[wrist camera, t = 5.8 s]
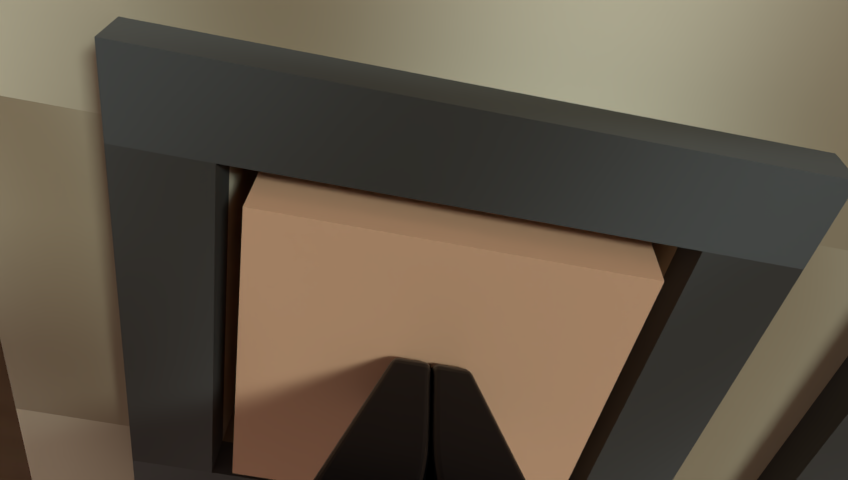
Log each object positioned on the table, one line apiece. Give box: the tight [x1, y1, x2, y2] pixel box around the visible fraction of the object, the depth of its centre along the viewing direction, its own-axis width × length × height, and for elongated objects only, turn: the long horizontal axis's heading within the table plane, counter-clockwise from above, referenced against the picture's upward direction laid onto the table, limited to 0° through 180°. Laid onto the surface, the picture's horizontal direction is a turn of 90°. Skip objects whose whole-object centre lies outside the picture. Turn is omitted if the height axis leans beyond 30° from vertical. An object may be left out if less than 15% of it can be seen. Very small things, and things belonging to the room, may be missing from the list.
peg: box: [232, 171, 664, 480], centre depth 10 cm, size 4×4×5 cm
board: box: [0, 0, 848, 480], centre depth 11 cm, size 18×13×6 cm
